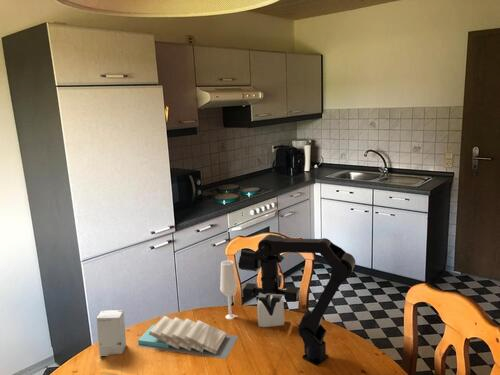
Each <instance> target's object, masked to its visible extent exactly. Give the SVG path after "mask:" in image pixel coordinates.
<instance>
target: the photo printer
mask: <svg viewBox="0 0 500 375" xmlns="http://www.w3.org/2000/svg"><path fill="white" fill-rule="evenodd" d="M272 297H273V296H272V295H270V300H271V299H272ZM256 303H257V304H256V306H257V307H256V310H257V324H258V327H260V328H267V327H268V328H269V327H279V326H285V306H284V305H285V304H284V299H283V298H281V300H280V302H277V303H276V306H275V309H274V312H273V315H272V316H270V315H269V313H268V311H267V309H266V307H265V306H264V304H263V303H262V301H259V298H257V302H256Z"/></svg>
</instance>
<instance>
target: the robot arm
mask: <svg viewBox="0 0 500 375" xmlns="http://www.w3.org/2000/svg"><path fill="white" fill-rule="evenodd" d="M284 253H291V254H292V253H295V254H297V253H300V254H301V253H303V254H320V255H321V256H322V257H323V259H324V260H325V261H326V263H327V265H328V266H330V268H331V273H330V276H329V280H328V281H327V283H326V285H325V287H324V289H323V290H322V293H321V295H320V296H319V298H318V300H317V302H316V303H315V305H314V307H313V308H312V309H311V310H310V309H308V308H307V309H306V311H305V312H304V314H303V316H302V317H301V319H300V322H299V323H298V324H297V327H298V329H297V332H298V335H299V337H300V338H301V339H302V341H303V344H304V346H303V347H304V354H303V355H302V359H304V360H306V361H308V362H309V363H311V364H313V365H316V366H319V365H321V364H322V363H324V361H326V360H327V359H328V358H329V357H330V356H329V354H327V350H326V349H327V346H326V345H327V344H326V341H325V340H324V338H325V336H326V334H327V329H326V328H325V327H324V326H323V325H322V321H323V317H324V314H325V312H326V311H327V310H328V308H329V305H330V303H331V302H332V300H333V298H334V297H335V296H336V293H337V292H338V290H339V288H340V286H341V285H342V284H343V283H344V282H346V280H347V279H348V278H349V277H350V276H351V275H352V272H353V270H354V267H355V265H356V264H357V263H356V259H355V257H354V256H353V255H352V254H351V253H348V252H346V251H345V249H343V248H342V247H339V245H337V244H334V243H333V242H332V241H331V240H330V239H328V238H327V237H326V238H286V237H283V236H281V235H277V234H267V235H265V237H263V238H262V239H261V240H260V241H259V242H258V244H257V250H256V251H254V250H246V249H243V250H241V251H240V256H239V260H238V263H237V264H238V265H237V266H238V268H239V270H242V271H250V272H258V270H259V269H260V270H261V277H260V282H261V287H258V284H257V283H250V282H249V283H246V284H245V285H244V286H243V288H242V291H241V295H242V297H243V298H248V299H250V298H252V297H253V296H254V294H257V295H258V296H259V297H258V299H259V301H262V303H263V304H264V306H265V307H266V309H267V311H268V313H269V315H270V316H272V315H273V312H274V309H275V306H276V303H277V302H280V300H281V298H282V297H284V300H285V301H286V302H293V303H295V302H297V301H298V299H299V296H300V289H299V287H297V286H286V289H283V288H281V286H282V280H283V277H282V276H283V275H282V274H280V273H279V272H280V271H279V264H280V263H282V262H283V260H284V259H285V258H284V256H283V255H281V254H284ZM271 295H272V296H273V297H272V299H271V300H270V296H271ZM282 299H283V298H282Z"/></svg>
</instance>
